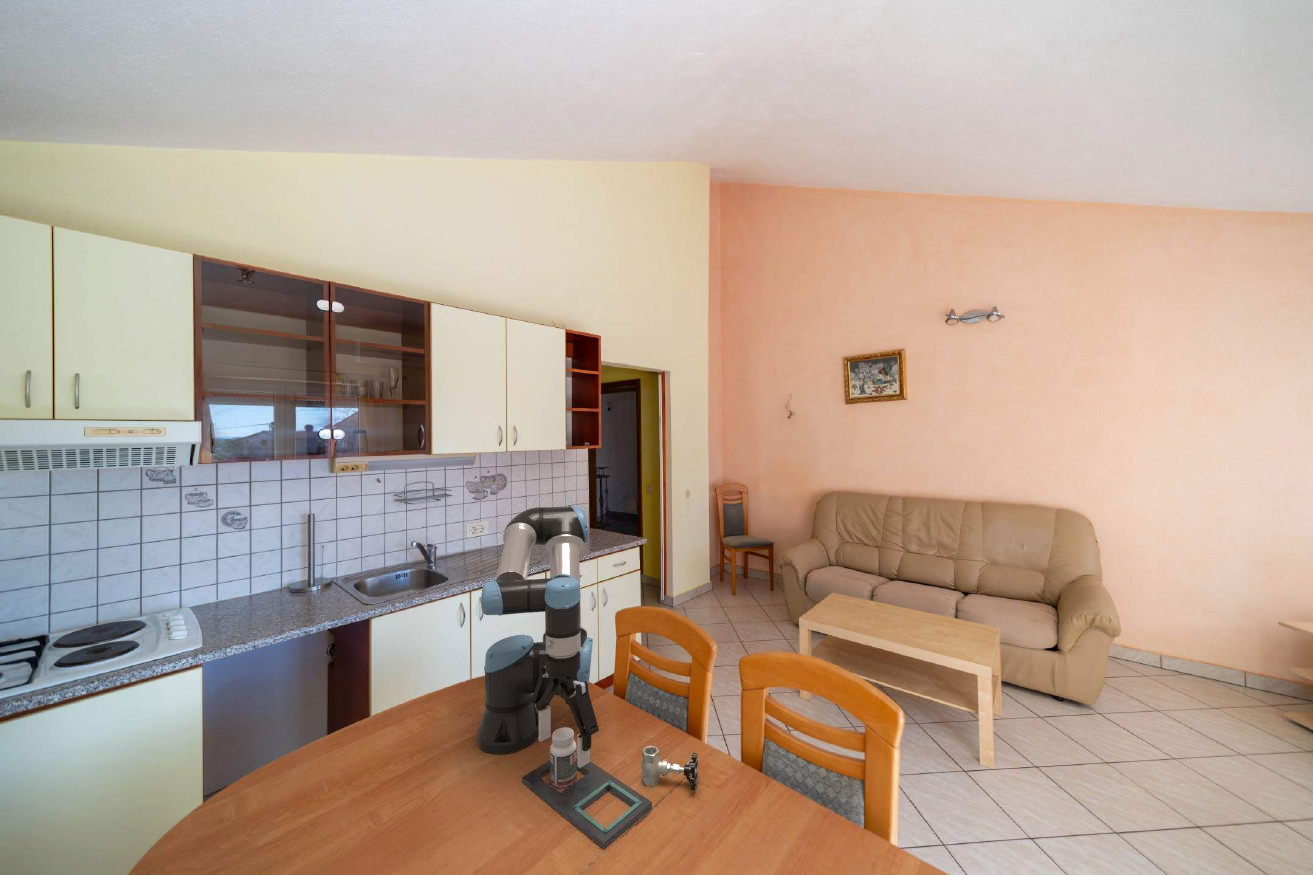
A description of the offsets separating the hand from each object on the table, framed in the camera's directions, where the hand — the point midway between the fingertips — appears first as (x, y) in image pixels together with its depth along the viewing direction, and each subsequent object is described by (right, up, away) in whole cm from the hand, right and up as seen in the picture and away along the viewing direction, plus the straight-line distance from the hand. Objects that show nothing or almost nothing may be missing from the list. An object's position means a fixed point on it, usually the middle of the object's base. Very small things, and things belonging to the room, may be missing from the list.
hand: (563, 750), depth 104 cm
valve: (+23, -7, -1) cm, 24 cm away
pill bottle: (0, -7, 0) cm, 7 cm away
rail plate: (+5, -6, -4) cm, 9 cm away
